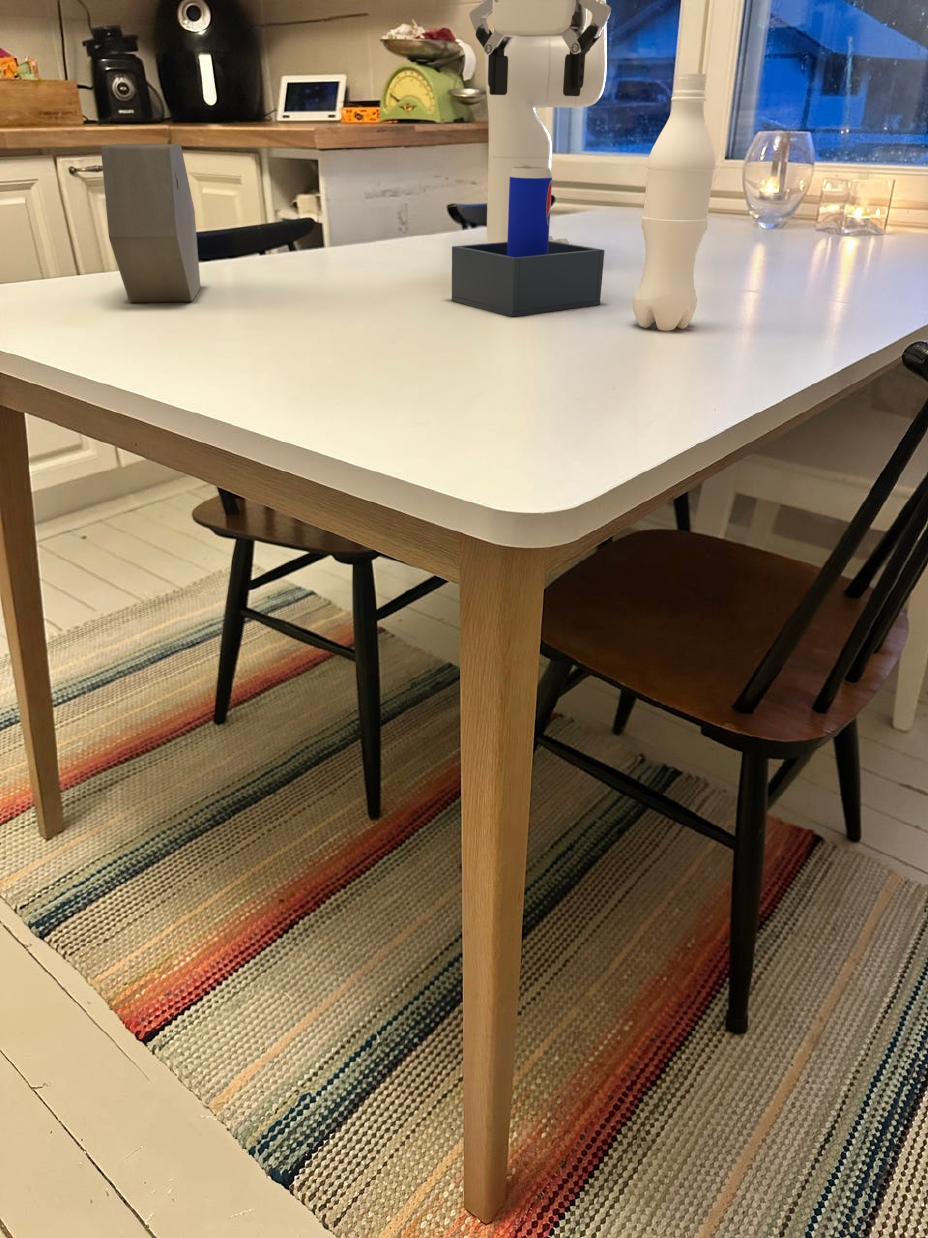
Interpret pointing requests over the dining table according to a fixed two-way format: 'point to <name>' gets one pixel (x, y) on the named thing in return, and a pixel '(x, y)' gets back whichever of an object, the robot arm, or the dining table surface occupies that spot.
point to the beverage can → (529, 211)
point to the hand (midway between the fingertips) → (534, 95)
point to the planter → (151, 221)
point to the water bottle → (675, 210)
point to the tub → (526, 278)
